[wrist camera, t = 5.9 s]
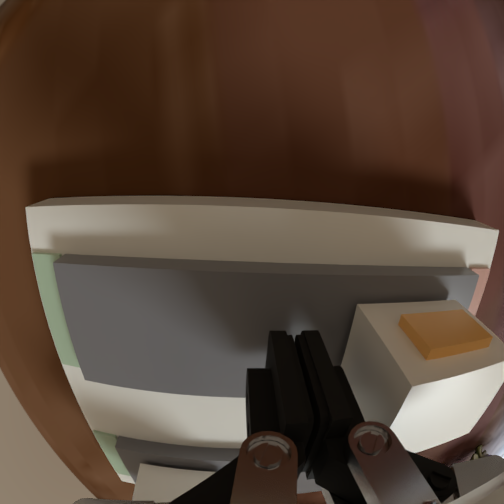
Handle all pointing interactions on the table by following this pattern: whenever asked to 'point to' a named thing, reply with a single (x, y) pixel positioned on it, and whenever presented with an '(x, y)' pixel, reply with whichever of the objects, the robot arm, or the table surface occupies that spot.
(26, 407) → the table surface
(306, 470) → the robot arm
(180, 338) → the panel
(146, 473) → the block
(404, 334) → the block
